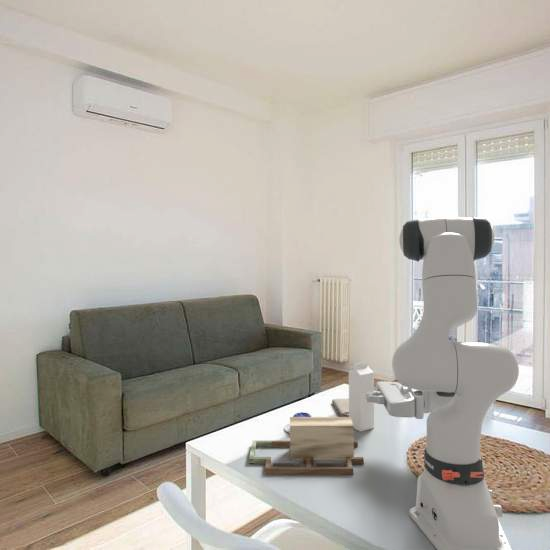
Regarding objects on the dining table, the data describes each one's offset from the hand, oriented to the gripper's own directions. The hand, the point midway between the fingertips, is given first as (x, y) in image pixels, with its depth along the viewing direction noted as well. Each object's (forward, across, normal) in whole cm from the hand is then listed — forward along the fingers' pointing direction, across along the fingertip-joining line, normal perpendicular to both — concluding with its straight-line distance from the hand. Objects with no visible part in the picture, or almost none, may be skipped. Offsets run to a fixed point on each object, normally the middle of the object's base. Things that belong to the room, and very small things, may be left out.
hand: (366, 397), depth 132 cm
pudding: (+18, -18, +18) cm, 31 cm away
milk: (-2, -20, +17) cm, 27 cm away
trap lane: (+18, +4, +17) cm, 25 cm away
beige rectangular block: (+13, +1, +17) cm, 21 cm away
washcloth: (-1, -37, +18) cm, 41 cm away
